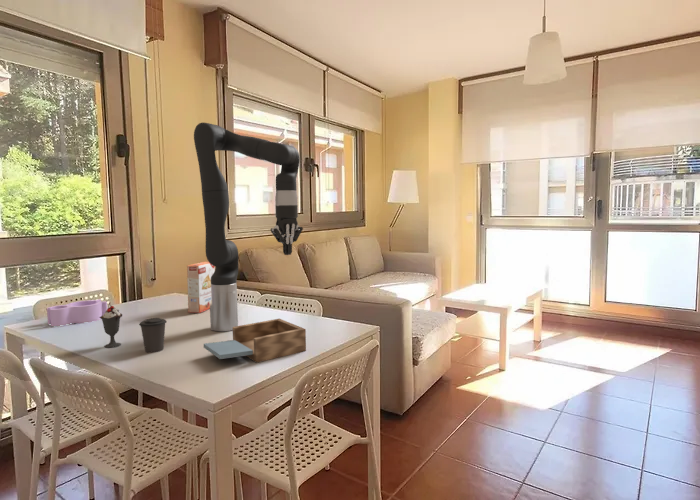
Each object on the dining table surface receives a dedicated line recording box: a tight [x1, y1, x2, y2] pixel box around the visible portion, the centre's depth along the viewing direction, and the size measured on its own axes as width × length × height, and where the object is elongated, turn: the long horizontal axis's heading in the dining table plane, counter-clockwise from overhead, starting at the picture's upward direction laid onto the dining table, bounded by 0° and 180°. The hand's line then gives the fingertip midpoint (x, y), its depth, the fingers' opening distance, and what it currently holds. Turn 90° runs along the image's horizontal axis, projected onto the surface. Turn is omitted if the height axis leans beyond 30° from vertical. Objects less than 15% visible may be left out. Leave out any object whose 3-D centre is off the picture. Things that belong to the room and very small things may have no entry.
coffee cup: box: [138, 317, 167, 354], centre depth 140 cm, size 8×8×10 cm
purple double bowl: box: [46, 298, 108, 327], centre depth 178 cm, size 20×12×7 cm, turn 140°
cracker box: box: [186, 261, 216, 314], centre depth 195 cm, size 14×6×21 cm, turn 168°
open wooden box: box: [232, 318, 307, 363], centre depth 140 cm, size 17×17×7 cm
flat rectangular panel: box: [203, 339, 253, 360], centre depth 132 cm, size 2×13×10 cm
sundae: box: [99, 302, 123, 349], centre depth 145 cm, size 7×7×15 cm
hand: (287, 254), depth 151 cm, fingers closed
